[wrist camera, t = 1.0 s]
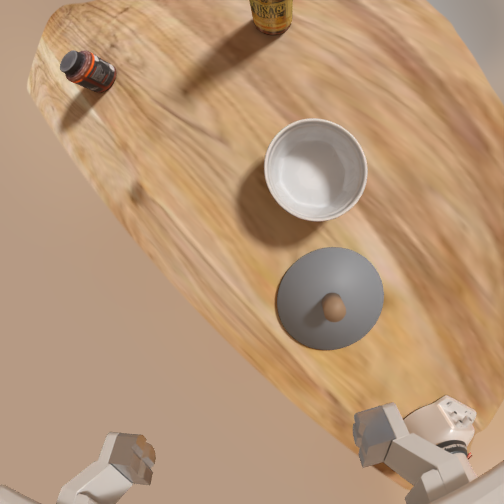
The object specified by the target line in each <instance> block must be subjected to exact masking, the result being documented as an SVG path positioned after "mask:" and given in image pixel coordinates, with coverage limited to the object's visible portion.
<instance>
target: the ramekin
mask: <svg viewBox="0 0 504 504" xmlns="http://www.w3.org/2000/svg"><path fill="white" fill-rule="evenodd" d="M367 173H368V171H367V161H366V157H365V154H364V152H363V150H362V148H361V146H360V144H359V143H358V141H357V140H356V139H355V138H354V136H353V135H352V134H351V133H350V132H348V131H347V130H346V129H345V128H343V127H341V126H340V125H338V124H336V123H333V122H331V121H327V120H324V119H315V118H312V119H303V120H299V121H296V122H293V123H291V124H289V125H287V126H286V127H284V128H283V129H282V130H281V131H280V132H278V134H277V135H276V136H275V137H274V138H273V140H272V141H271V143H270V145H269V147H268V149H267V152H266V155H265V161H264V174H265V180H266V183H267V186H268V189H269V191H270V193H271V195H272V196H273V198H274V199H275V200H276V202H277V203H278V204H279V205H280V206H281V207H282V208H283V209H284V210H286V211H287V212H288V213H290V214H292V215H293V216H295V217H298V218H300V219H303V220H307V221H315V222H320V221H328V220H332V219H335V218H337V217H339V216H341V215H343V214H345V213H346V212H348V211H349V210H350V209H351V208H352V207H353V206H354V205H355V204H356V203H357V202H358V200H359V199H360V197H361V195H362V193H363V191H364V189H365V186H366V182H367Z"/></svg>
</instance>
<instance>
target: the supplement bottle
mask: <svg viewBox="0 0 504 504" xmlns="http://www.w3.org/2000/svg"><path fill="white" fill-rule="evenodd" d="M60 70H61V71H62V72H64V73H65V74H66V78H67V79H68V80H69V81H71V82H73V83H76V84H78V85H80V86H83V87H85V88H88V89H90V90H92V91H95V92H104V91H106V90H107V89H108V88H110V87H111V85H112V84H113V82H114V81H115V78H116V69H115V67H114V66H112V65H111V64H109V63H108V62H106V61H104V60H102V59H101V58H99V57H98V56H96V55H94V54H92V53H90V52H88V51H81V52H77V51H70V52H68V53H67V54H66V55H65V56H64V58H63V59H62V61H61V64H60Z"/></svg>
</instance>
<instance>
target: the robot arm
mask: <svg viewBox="0 0 504 504" xmlns="http://www.w3.org/2000/svg"><path fill="white" fill-rule="evenodd" d="M475 417H476V411H475V410H474V409H472V408H470V407H468V406H466V405H464V404H462V403H461V402H459V401H457V400H455V399H453V398H452V397H450V396H447V395H446V396H444V397H442V398H440V399H439V400H437V401H436V402H434V403H432V404H430V405H427V406H424V407H422V408H420V409H418V410H416V411H414V412H413V413H411V414H410V415H409V416H407V417H406V418H405V419H404V420H403V419H402V417H401V415H400V413H399V410H398V408H397V406H396V404H395V403H393V402H391V403H388V404H385V405H382V406H378V407H375V408H371V409H368V410H365V411H361V412H358V413H355V415H354V420H355V423H354V424H353V436H354V441H355V444H356V446H358V447H359V448H360V450H359V457H360V461H361V464H362V467H363V468H364V467H367V466H371V465H375V464H378V463H381V462H384V463H385V464H386V465H387V466H388V467H390V468H391V469H392V470H394V471H395V472H396V473H398V474H399V475H400V476H402V477H403V478H404V479H406V480H407V481H408V482H410V483H411V484H412V485H414V487H413V488H412V489H411V490H410V492H409V493H408V494H407V496H406V497H405V500H406V504H504V460H503V461H502V462H500V463H499V464H498V465H496V466H495V467H493V468H492V469H490V470H489V471H487V472H485V473H484V474H482V475H481V476H479V477H478V476H477V475H476V473H475V472H474V470H473V468H472V466H471V465H470V463H469V461H468V459H469V458H470V457H471V456H472V455H471V456H470V457H469V455H470V454H471V453H469V454H468V455H467V448H466V447H467V445H468V444H469V442H470V441H471V439H472V437H473V435H474V427H473V425H472V423H473V421H474V419H475ZM468 457H469V458H468ZM467 458H468V459H467ZM155 459H156V457H155V451H154V448H153V447H152V445H150V444H149V443H147V442H146V438H145V437H144V436H143V435H137V434H124V433H115V432H109V433H108V434H107V436H106V439H105V442H104V444H103V447H102V450H101V453H100V456H99V459H98V461H94V462H93V463H92V464H91V465H89V466H88V467H87V468H86V469H84V470H83V471H82V472H81V473H79V474H78V475H77V476H76V477H74V478H73V479H72V480H71V481H69V482H68V483H67V484H65V485H64V486H63V487H62V489H61V491H60V494H59V497H58V500H57V503H56V504H116V502H117V501H118V500H119V499H120V498H121V497H122V496H123V495H124V494H125V492H126V491H127V490H128V489H129V488H130V487H131V486H132V485H133V484H132V483H134V484H143V485H150V484H151V478H152V474H153V472H152V470H151V469H150V468H151V467H152V466H153V465H154V464H155ZM0 504H41V503H39V502H36V501H34V500H33V499H30V498H29V497H26V496H25V495H23V494H21V493H19V492H17V491H15V490H13V489H11V488H9V487H8V486H5V485H0Z"/></svg>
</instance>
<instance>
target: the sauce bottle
mask: <svg viewBox="0 0 504 504" xmlns="http://www.w3.org/2000/svg"><path fill="white" fill-rule="evenodd" d="M249 1H250V6H251V11H252V16H253V21H254V23H255V25H256V27H257V29H259V30H260V31H261V32H263V33H265V34H269V35H270V34H271V35H274V34H280V33H283V32H285V31H286V30H287V29H288V28H289V27H290V25H291V22H292V2H293V0H249Z"/></svg>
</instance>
